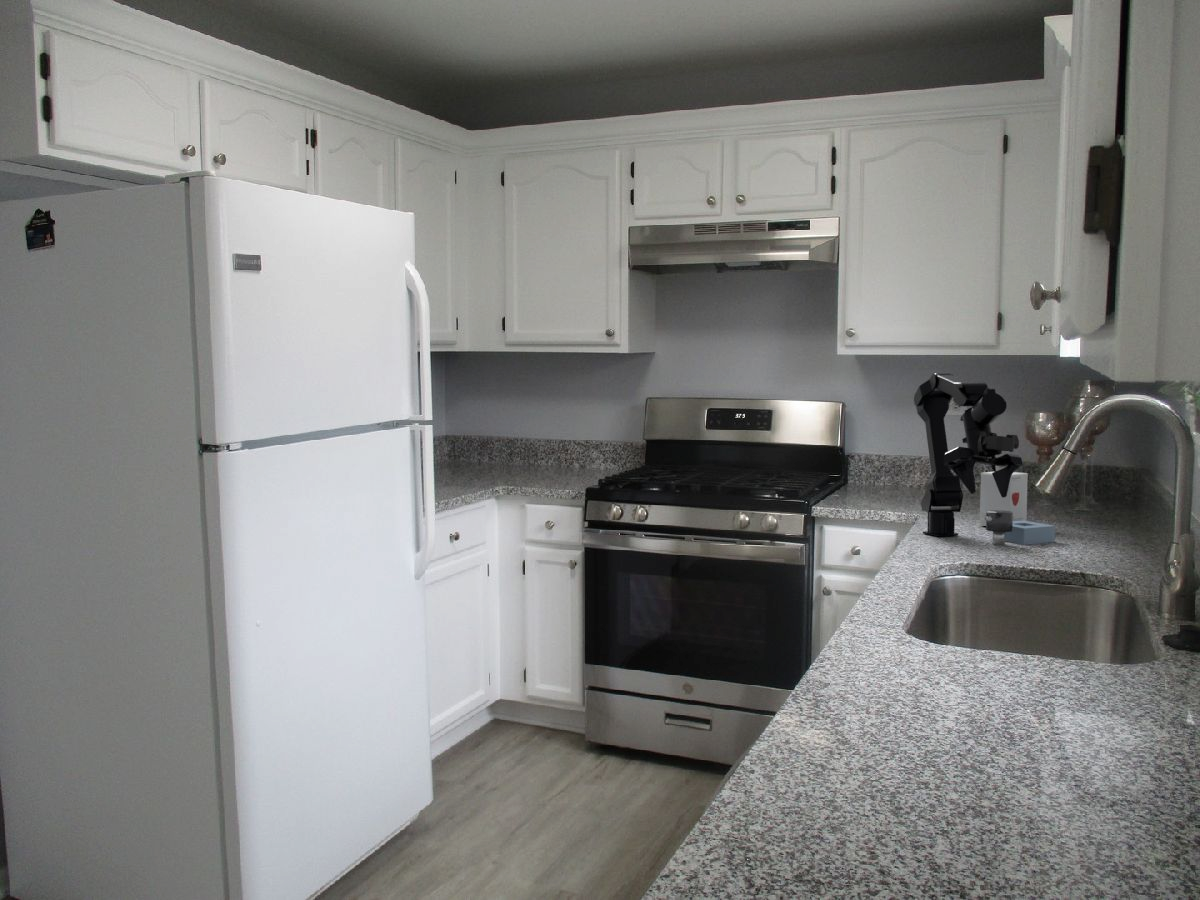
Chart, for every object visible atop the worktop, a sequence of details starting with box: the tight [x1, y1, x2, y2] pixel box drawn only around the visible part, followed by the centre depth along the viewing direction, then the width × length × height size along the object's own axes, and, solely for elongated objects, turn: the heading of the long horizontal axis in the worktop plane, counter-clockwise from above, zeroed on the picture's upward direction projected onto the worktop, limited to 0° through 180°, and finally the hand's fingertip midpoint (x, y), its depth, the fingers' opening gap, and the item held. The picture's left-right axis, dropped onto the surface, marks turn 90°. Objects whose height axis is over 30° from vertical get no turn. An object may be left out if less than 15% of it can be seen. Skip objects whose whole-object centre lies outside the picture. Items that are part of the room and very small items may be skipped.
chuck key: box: [985, 510, 1014, 546], centre depth 232 cm, size 8×6×8 cm
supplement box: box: [979, 471, 1029, 527], centre depth 260 cm, size 9×9×15 cm
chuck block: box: [1005, 520, 1056, 546], centre depth 238 cm, size 10×10×4 cm
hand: (988, 495), depth 218 cm, fingers open, 9 cm apart
